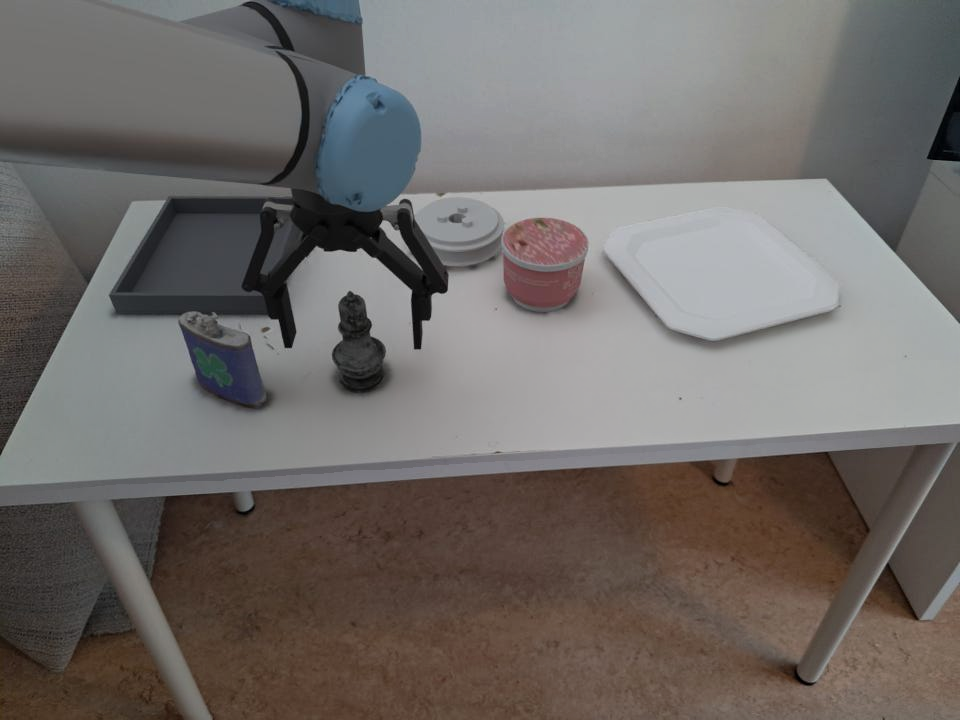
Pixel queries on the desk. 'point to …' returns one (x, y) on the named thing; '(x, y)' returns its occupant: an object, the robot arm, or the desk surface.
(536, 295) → the container
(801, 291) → the plate
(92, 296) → the desk surface
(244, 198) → the tray
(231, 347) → the flask
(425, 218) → the grey pulley wheel
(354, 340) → the chess piece
